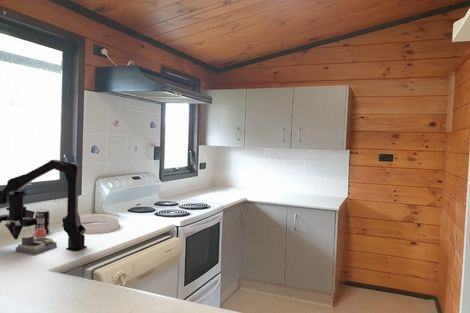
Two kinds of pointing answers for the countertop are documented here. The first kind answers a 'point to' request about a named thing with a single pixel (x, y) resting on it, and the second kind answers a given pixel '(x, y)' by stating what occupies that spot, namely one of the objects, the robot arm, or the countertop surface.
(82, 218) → the pale pink ring
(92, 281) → the countertop surface
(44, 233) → the cap
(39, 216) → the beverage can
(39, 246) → the breaker panel
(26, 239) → the block
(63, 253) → the countertop surface
